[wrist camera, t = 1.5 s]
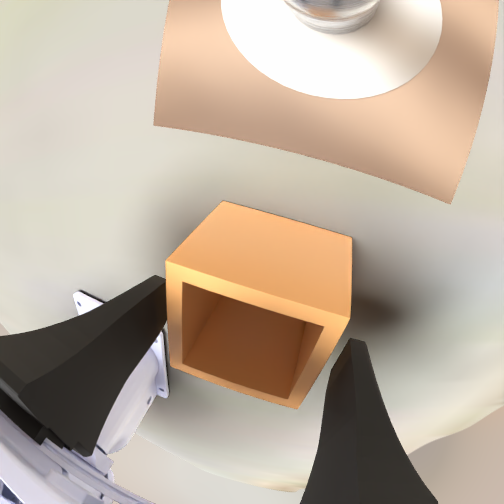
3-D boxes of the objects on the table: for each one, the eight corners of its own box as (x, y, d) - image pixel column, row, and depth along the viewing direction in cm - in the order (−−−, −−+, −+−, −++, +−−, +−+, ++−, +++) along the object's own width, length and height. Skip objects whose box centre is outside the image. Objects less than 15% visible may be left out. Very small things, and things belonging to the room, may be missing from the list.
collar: (314, 329, 16) (297, 409, 12) (211, 297, 17) (170, 366, 12) (352, 237, 12) (350, 317, 8) (222, 200, 13) (165, 260, 9)
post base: (443, 195, 10) (451, 206, 9) (166, 121, 12) (150, 126, 11) (488, -49, 4) (499, -57, 3) (209, -103, 5) (198, -114, 4)
